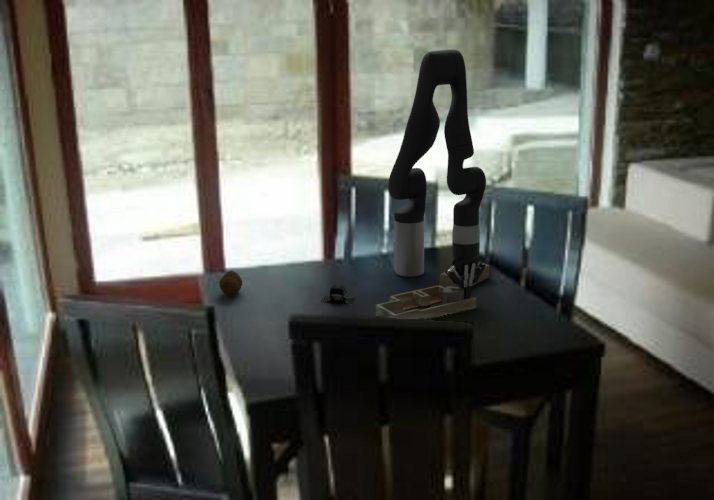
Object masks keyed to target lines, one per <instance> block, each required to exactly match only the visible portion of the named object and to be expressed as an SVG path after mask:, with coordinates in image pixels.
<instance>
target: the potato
mask: <svg viewBox="0 0 714 500" xmlns="http://www.w3.org/2000/svg"><path fill="white" fill-rule="evenodd" d="M242 286H243V280H242V277H241V276H240V275H239V274H238V272H236V271H234V270H229V271H228V272H226V273H225V274H224V275H223V276H222V277H221V279H220V280H219V288H220V290H221V292H222V293H223V294H224V295H225V296H228V297H229V298H230V297H234V296H235V295H237V294H238V293H239V291H240V290H241V289H242Z"/></svg>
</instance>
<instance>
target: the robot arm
mask: <svg viewBox="0 0 714 500" xmlns="http://www.w3.org/2000/svg"><path fill="white" fill-rule="evenodd" d="M446 85H449V86H450V87H449V88H450V90H451V91H450V92H451V100H450V101H451V102H450V106H449V110H448V113H447V115H446V118H445V122H444V128H443V131H444V133H443V134H444V140H445V144H446V150H447V169H446V184H447V187H448V190H449V191H450V192H451V193H452V194H453V195H455V196H463V195H465V196H464V198H463V199H462V200H460V201H458V202H456V203H455V204H454V205H453V212H452V213H453V219H452V220H453V223H452V225H453V226H452V232H451V233H452V237H451V238H452V239H451V240H452V241H451V242H452V246H451V249H452V250H451V251H452V252H451V255H452V257H453V260H452V262H451V265H452V266H450V268H449V269H448V268H447V269H445V271H444V272H445V273H446V274H447V275H448V277H449V278H450V279H451V280H452V282H453V283H454V284H456V285H458V286H460V287H461V288H464V300H465V299H469V298H471V296H472V287H473V286H472V284H473V283H476V282H477V281H478V279H479V277H480V276H481V274H482V272H483V270H484V269H485V267H486V265H485V264H486V263H484V264H483V262H481V261H480V257H479V256H480V239H481V236H480V235H481V232H480V208H481V204H482V202H483V198H484V194H485V190H486V186H487V178H486V174H485V172H484V170H483V169H482V168H481V167H479V166H472V167H471V166H470V167H464V162H465V160H467V159H470V158H472V157H473V156H474V153H475V150H474V144H473V139H472V134H471V129H470V123H469V122H470V121H469V115H468V114H469V113H468V112H469V111H468V109H469V108H468V88H467V86H468V85H467V71H466V62H465V59H464V56H463V55H462V52H460V51H459V50H457V49H441V50H439V49H438V50H431V51H427V52H426V53H425V54H424V56H423V58H422V60H421V62H420V66H419V73H418V77H417V84H416V89H415V95H414V99H413V102H412V105H411V110H410V114H409V116H408V119H407V122H406V127H405V130H404V134H403V137H402V142H401V145H400V148H399V152H398V154H397V157H396V159H395V162H394V164H393V167H392V169H391V172H390V174H389V178H388V184H387V186H388V187H387V188H388V193H389V196H390V197H391V198H392V199H393V200H399V201H402V200H408V201H406V203H405V204H404V205H403V206H401V207H399V208H398V209H396V210H394V214H393V215H394V217H393V219H394V241H393V271H394V273H395V274H396V275H397V276H401V277H406V278H407V277H408V278H409V277H411V278H412V277H419V276H421V275H424V273H425V213H426V209H427V208H426V205H427V176H426V173H425V171H424V170H423V169H422V168H420V167H414V166H415V165H416V163H418V162H419V161H420V160H421V158H423V157H424V156H425V155H426V154H427V153H428V152H429V151H430V149H432V147H433V145H434V144H435V142H436V139H437V137H438V132H439V130H440V125H441V120H440V119H441V118H440V116H439V114H438V111H437V108H436V106H435V104H434V94H435V91H436V89H437V87H438V86H446ZM455 270H456V271H455ZM456 272H457V276H456ZM475 275H476V276H475ZM471 286H472V287H471Z"/></svg>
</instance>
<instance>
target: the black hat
mask: <svg viewBox="0 0 714 500" xmlns="http://www.w3.org/2000/svg"><path fill="white" fill-rule="evenodd" d="M347 292H348V291H347V289H346V285H337V284H333V285H332V286H331V287H330V290H329V293H328V294H329V295H325V296H324V297H323V298H322V299H321V300H320V301H319V303H322V304H324V303H326V304H338V305H350V306H351V305H353V304H354V302H355V301H356V299H357V298H356V297H347Z"/></svg>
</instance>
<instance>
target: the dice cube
mask: <svg viewBox="0 0 714 500" xmlns="http://www.w3.org/2000/svg"><path fill="white" fill-rule="evenodd" d="M461 300H465V299H464V288H461V287H453V286H447V287H446V288H445V289H444V290H443V291H442V302H441V305H444V304H448V303H452V302H456V301H461Z"/></svg>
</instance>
